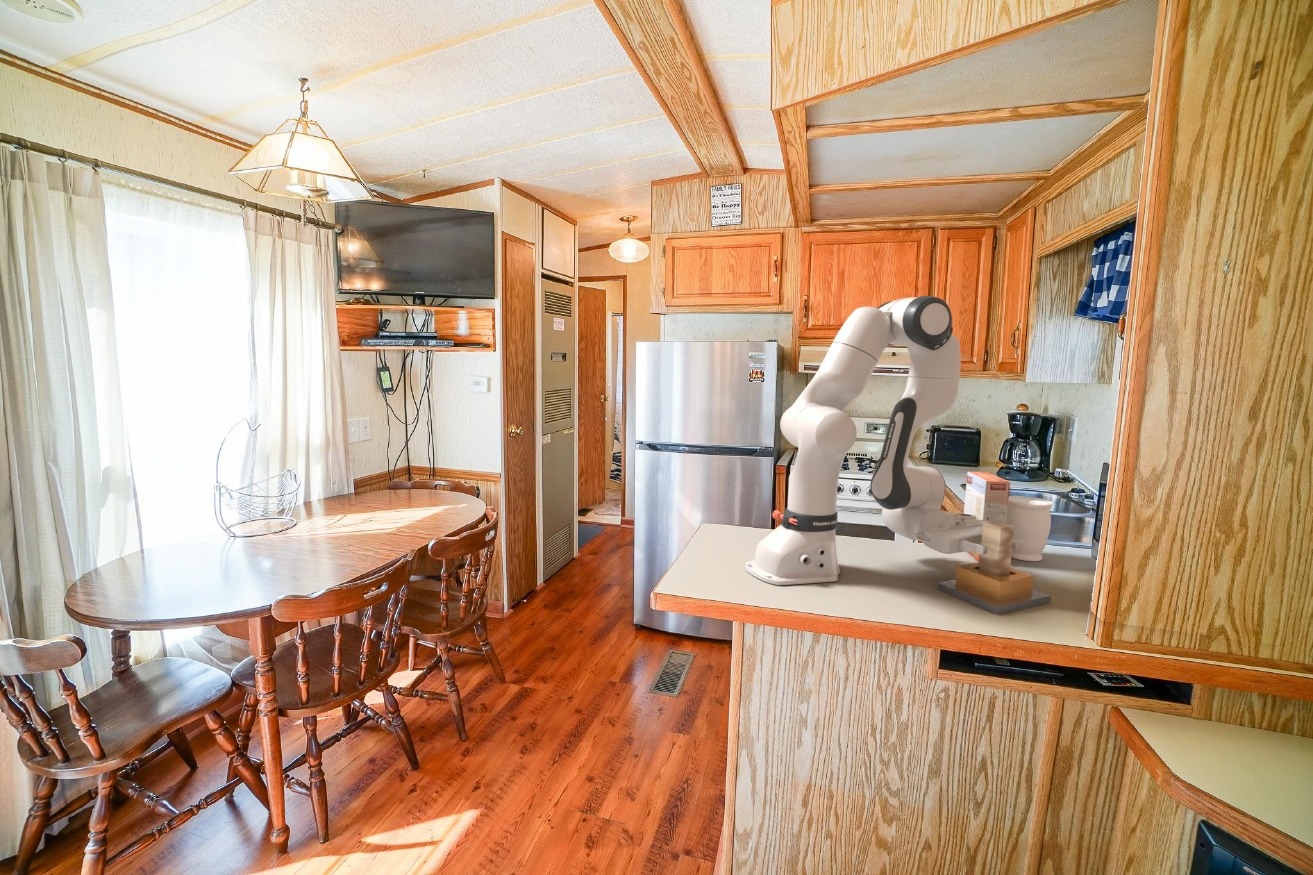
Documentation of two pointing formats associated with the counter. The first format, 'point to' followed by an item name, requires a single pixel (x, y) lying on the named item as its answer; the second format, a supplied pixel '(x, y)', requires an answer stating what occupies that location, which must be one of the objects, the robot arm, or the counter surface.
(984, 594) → the socket base
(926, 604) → the counter surface
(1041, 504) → the jar
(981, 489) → the cracker box
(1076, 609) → the counter surface
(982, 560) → the wedge pin
